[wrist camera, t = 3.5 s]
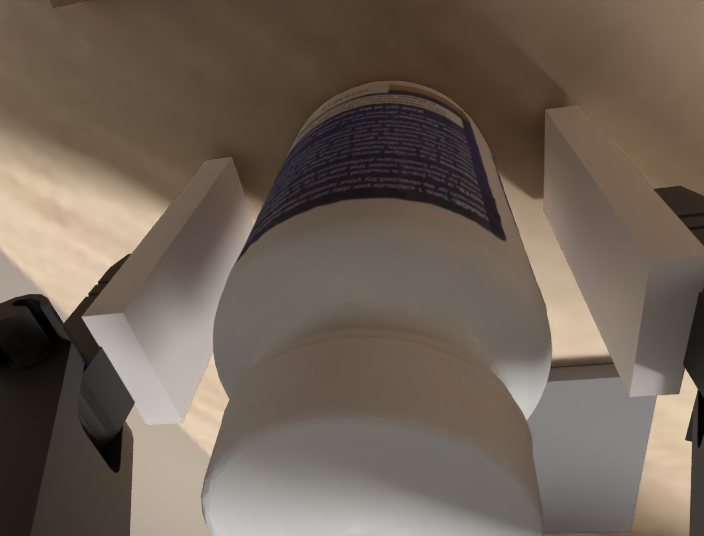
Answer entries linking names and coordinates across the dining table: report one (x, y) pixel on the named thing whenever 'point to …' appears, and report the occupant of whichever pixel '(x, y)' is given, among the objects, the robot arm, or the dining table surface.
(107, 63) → the dining table surface
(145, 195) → the dining table surface
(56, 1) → the screen
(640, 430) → the coaster
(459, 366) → the pill bottle
